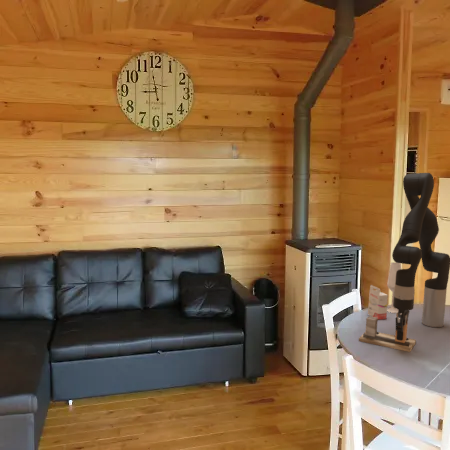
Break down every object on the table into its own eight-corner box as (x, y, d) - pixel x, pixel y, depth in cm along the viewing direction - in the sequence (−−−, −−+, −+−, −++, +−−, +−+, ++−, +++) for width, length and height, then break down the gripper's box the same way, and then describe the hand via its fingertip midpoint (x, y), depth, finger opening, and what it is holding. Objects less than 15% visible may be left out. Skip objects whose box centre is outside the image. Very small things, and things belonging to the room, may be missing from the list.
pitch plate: (366, 332, 208) (368, 310, 207) (415, 342, 198) (417, 319, 197) (358, 341, 198) (360, 318, 197) (410, 351, 188) (411, 327, 187)
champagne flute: (385, 312, 238) (388, 264, 235) (385, 308, 245) (388, 261, 241) (399, 313, 236) (403, 265, 233) (399, 309, 243) (402, 262, 240)
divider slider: (399, 336, 200) (401, 317, 199) (408, 338, 198) (410, 319, 197) (394, 343, 192) (396, 323, 191) (404, 345, 190) (405, 325, 189)
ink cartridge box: (387, 319, 227) (389, 288, 225) (377, 320, 226) (380, 289, 224) (376, 313, 235) (378, 284, 234) (367, 314, 234) (369, 284, 232)
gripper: (398, 290, 198) (395, 331, 200) (389, 298, 186) (386, 341, 188) (417, 293, 194) (414, 335, 196) (410, 302, 182) (406, 346, 184)
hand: (400, 338), depth 192 cm, fingers closed on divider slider, 3 cm apart
